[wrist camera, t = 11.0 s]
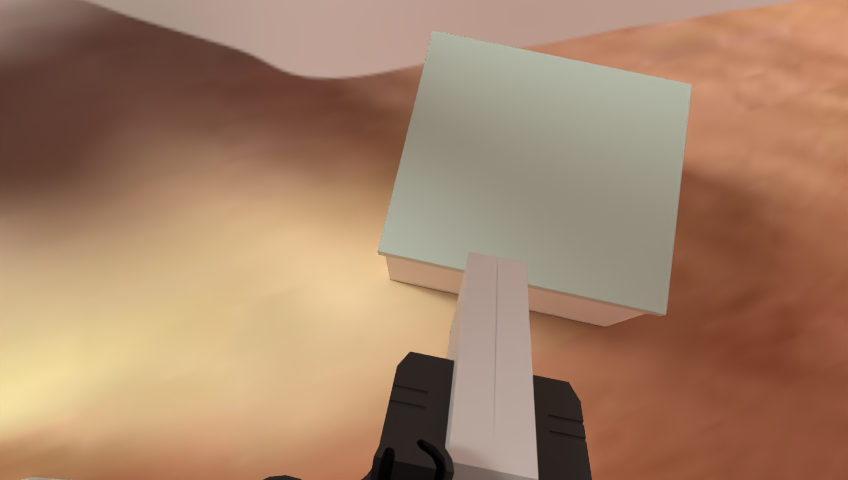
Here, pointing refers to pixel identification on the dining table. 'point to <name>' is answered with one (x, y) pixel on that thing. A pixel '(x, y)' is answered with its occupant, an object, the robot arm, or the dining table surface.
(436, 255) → the lid
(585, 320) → the storage box
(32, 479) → the ink box
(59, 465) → the dining table surface
